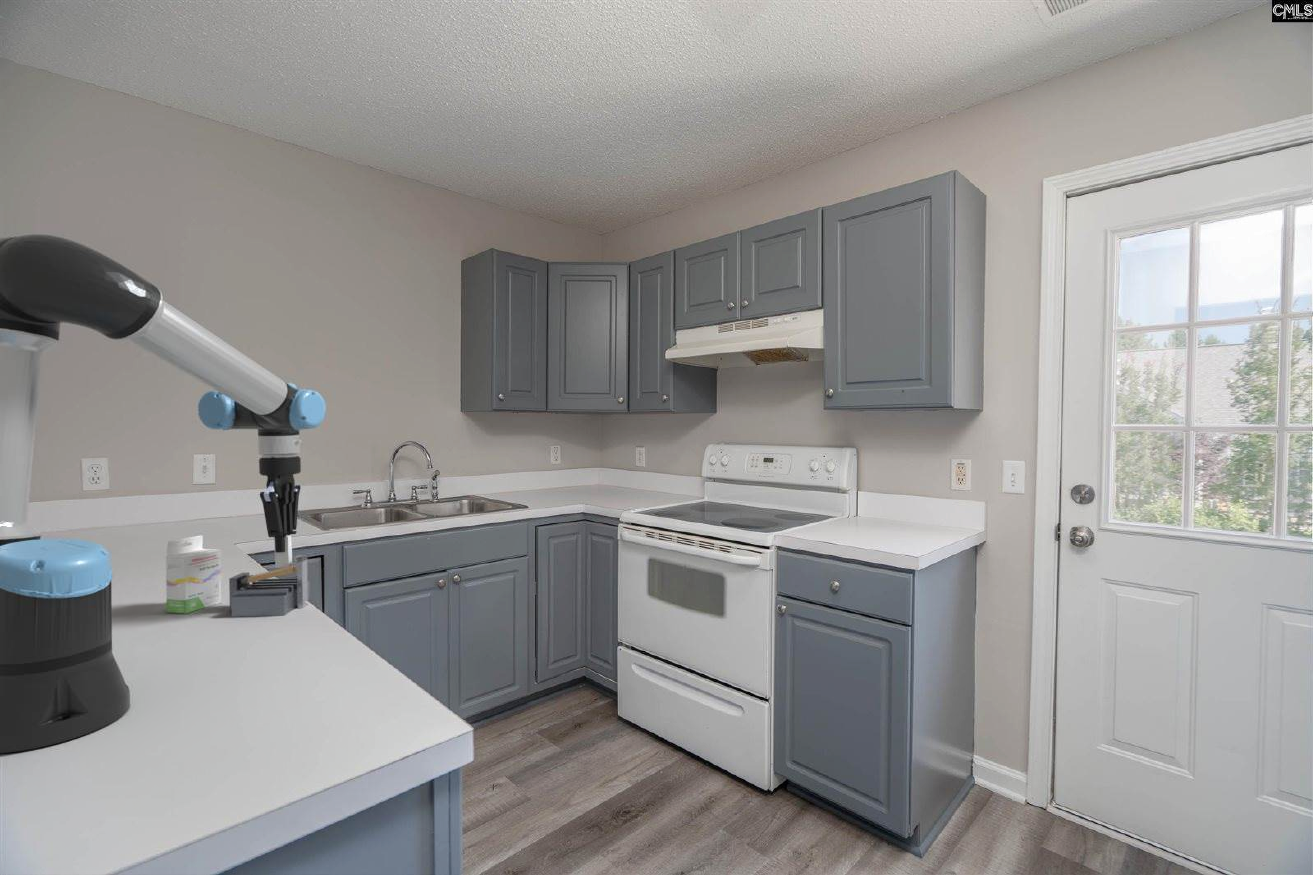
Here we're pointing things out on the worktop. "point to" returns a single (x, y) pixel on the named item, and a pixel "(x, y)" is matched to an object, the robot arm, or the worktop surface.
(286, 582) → the heatsink
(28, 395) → the robot arm
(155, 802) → the worktop surface
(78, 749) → the worktop surface
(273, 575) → the strap
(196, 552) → the ink box
